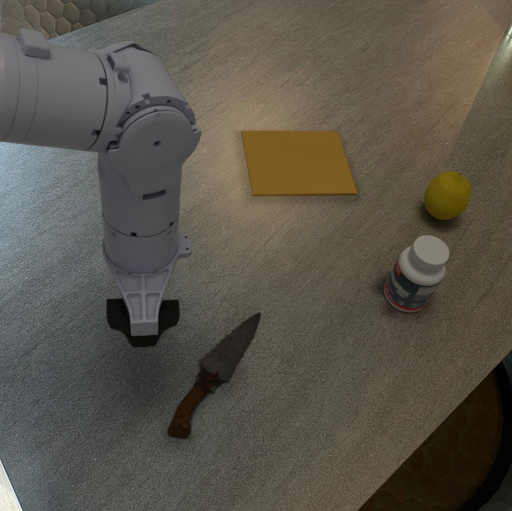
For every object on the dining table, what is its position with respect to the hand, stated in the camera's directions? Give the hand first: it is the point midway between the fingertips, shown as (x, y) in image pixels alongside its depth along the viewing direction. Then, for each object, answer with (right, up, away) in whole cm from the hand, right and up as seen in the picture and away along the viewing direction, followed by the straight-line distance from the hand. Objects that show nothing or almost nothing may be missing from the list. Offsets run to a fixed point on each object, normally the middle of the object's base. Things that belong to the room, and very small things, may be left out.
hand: (142, 306), depth 57 cm
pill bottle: (+28, 0, +17) cm, 33 cm away
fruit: (+34, +10, +25) cm, 44 cm away
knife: (+6, -7, +8) cm, 12 cm away
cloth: (+16, +17, +28) cm, 37 cm away
